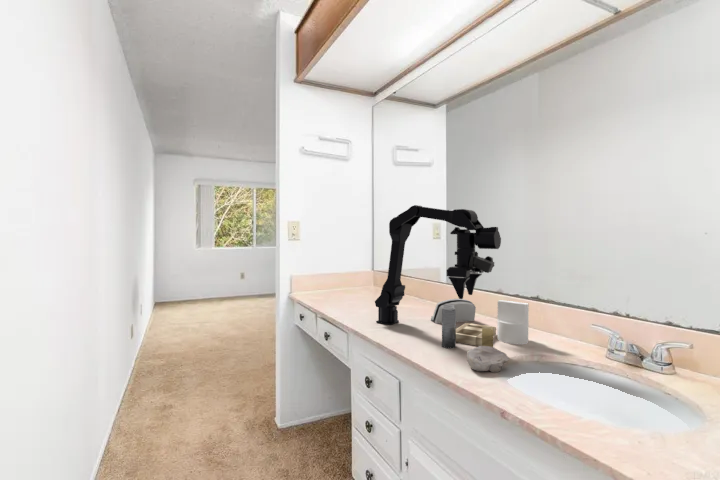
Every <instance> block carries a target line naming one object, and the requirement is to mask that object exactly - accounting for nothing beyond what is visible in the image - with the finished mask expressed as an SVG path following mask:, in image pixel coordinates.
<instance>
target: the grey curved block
mask: <svg viewBox="0 0 720 480" xmlns="http://www.w3.org/2000/svg"><path fill="white" fill-rule="evenodd" d="M446 303H448V304H454V309H456V323H464V322H465V321H467V322H475V318H476V310H477V309H476V308H477V307H476V305H475V304H474V302H472V301H471V300H469V299H468V300H467V299H464V298H463V299H459V298H449V299H446V300H442V301H439V302H437V303H436V306H435V309H434V311H433V315H432V316H431V318H430V321H431V322H434V324H442V309H443V308H444V304H446ZM465 323H466V322H465Z"/></svg>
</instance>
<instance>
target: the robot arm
mask: <svg viewBox="0 0 720 480" xmlns="http://www.w3.org/2000/svg"><path fill="white" fill-rule="evenodd" d="M421 218H425V219H431V220H438V221H444V222H447V223H449V224H451V225H452V226H453V225H454V226H456V227H454V228H453V230H451V231H450V232H449V233H450V235H456V251H454V256H456V264H454V266H450V267H448V268H447V269H446V277H447V278H448V279H449V280H450V282H451V285H452V287H453V288H454V290H455V293H456V295H457V297H458V299H464V294H465V288H466V291H467V294H468V295H469V296H473V293H474V289H475V286H476V282H477V279H478V278H479V277H481V276H482V274H483V273H487V274H489V273H491V272H492V270H493V268H494V267H495V261H494V257H491V256H490V255H489V256H488V255H487V256H486V257H485V258H484V257H480V256H479V252H478V251H476V246H477V248H478V249H481V250H483V249H484V250H499V248H500V247H501V244H502V237H501V234H500V232H499V227H498V226H490V227H484V225H483V224H482V223H481V222H480V220H479V218H478V213H476V211H474V210H472V209H466V208H461V209H459V208H458V209H441V208H440V209H439V208H433V207H427V206H422V205H419V204H418V205H416V204H415V205H412V206H410V207H409V208H408V209H406V210H405V211H403V212H401V213H400V214H398V215H397V216H396V217H395V216H394V217H393V218H392V219H390V221H389V224H388V229H389V230H388V231H389V236H390V238H391V246H390V255H389V263H388V271H387V279H386V280H385V282H384V284H383V285H382V288H381V293H380V295H379V296H378V297H377V299H376V300H374V304H375V307H376V308H378V309H377V310H378V311H377V312H378V316H377V317H378V318H377V319H378V320H375V322H376V323H378V324H384V325H389V326H390V325H391V326H392V325H394V324H396V323H399V318H398V317H399V314H398V313H399V312H398V309H397V308H398V307H397V306H399V305H400V303H401V301H402V299H403V297H404V296H406V295H405V290H406V285H405V284H402V281H401V279H402V278H401V277H402V270H403V262H404V255H405V248H406V247H405V246H406V241H407V240H408V238H409V237H410V235H411V232H412V231H411V230H412V228H413V227H414V226H415V225H416V224H417V223H418V221H419V220H420V219H421ZM461 228H462V229H461ZM471 231H475V232H471Z"/></svg>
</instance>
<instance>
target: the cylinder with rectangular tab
mask: <svg viewBox="0 0 720 480" xmlns="http://www.w3.org/2000/svg"><path fill="white" fill-rule="evenodd" d="M529 305H530V304H529V303H528V302H521V301H512V300H505V299H499V300H497V328H496V336H497V340H498V341H499V342H502V343H506V344H510V345H526V344H528V343H529V316H530V315H529V311H530V310H529V309H530V308H529V307H530V306H529Z"/></svg>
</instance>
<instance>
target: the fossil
mask: <svg viewBox="0 0 720 480" xmlns="http://www.w3.org/2000/svg"><path fill="white" fill-rule="evenodd" d="M466 361H467V364H468V366H469V368H470V369H472V370H474V371H477V372H488V371H490V372H492V373H495V372H500V371H501V369H502V368H501V367H503V365H505V364H508V362H509V361H510V359H509V357H508V355H507V354H506V353H505V352H503V351H501V350H499V349H497V348H495V347H494V346H493V347H489V346H476V347H474V348H471V349H468V350H467V352H466Z"/></svg>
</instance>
